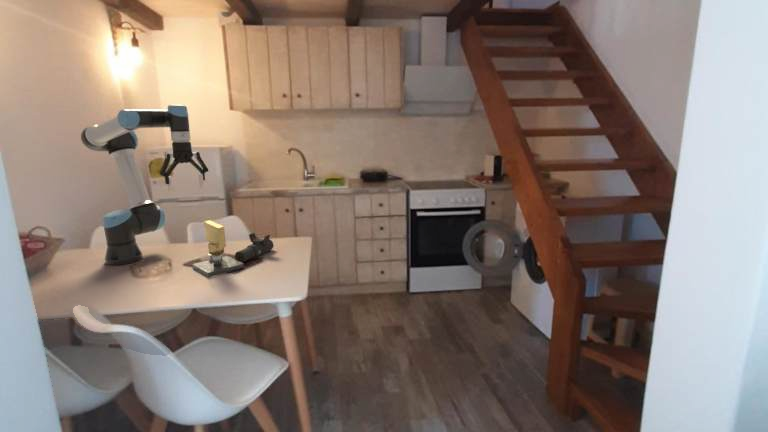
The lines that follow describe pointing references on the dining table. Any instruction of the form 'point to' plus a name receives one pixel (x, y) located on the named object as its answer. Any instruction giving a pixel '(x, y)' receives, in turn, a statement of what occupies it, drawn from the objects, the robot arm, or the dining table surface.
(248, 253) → the laser sight
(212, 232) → the lever handle
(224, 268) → the post base
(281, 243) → the dining table surface
